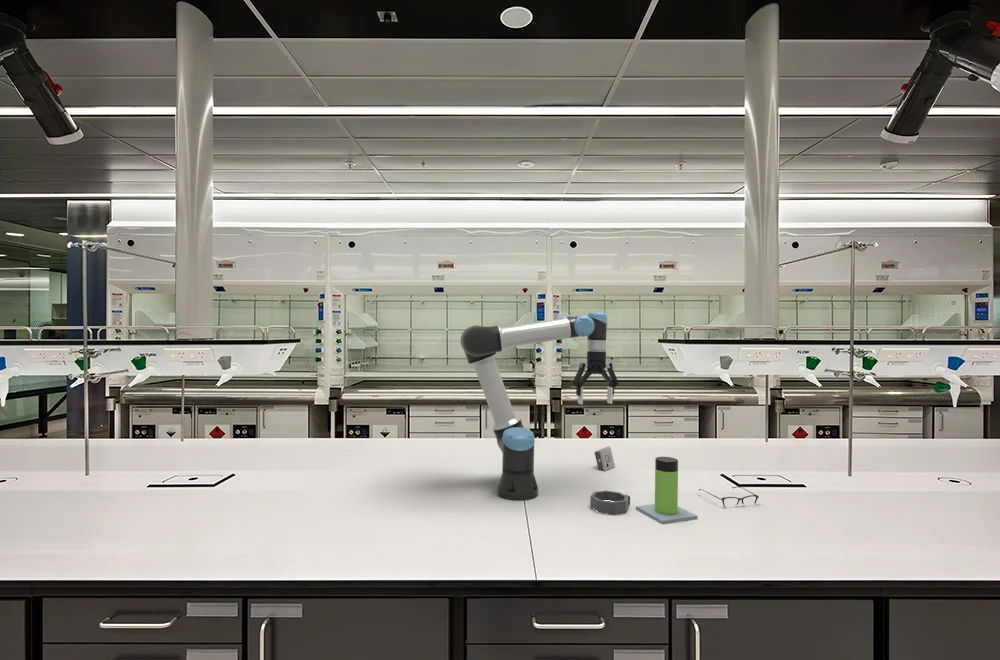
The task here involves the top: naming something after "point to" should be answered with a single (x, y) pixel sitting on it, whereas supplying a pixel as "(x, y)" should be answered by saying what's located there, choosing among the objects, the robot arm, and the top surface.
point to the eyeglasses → (736, 497)
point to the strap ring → (609, 502)
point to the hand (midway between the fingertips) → (595, 403)
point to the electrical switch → (604, 458)
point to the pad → (665, 518)
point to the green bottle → (666, 485)
